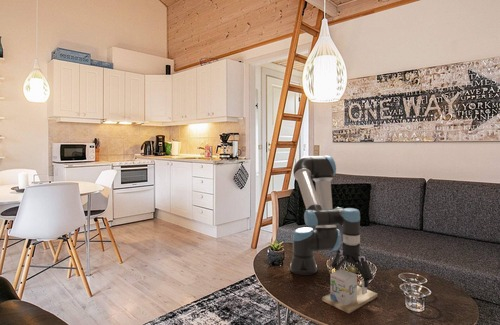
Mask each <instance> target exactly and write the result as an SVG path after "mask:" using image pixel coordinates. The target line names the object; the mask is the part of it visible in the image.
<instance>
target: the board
mask: <svg viewBox="0 0 500 325" xmlns="http://www.w3.org/2000/svg"><path fill="white" fill-rule="evenodd" d="M376 298H378V293H377V292H375V291H372V290H370V289H367V293H366V294H364V295H363V294H362V286H359V285H357V300H355V301H354V302H352V303H350V304H348V305H347V306H346V305H344V304H342V303H339V302H337V301H335V300H333V299H331V298H330V293H328V294H326V295H324V296H322V298H321V300H322V302H325V304H326V303H327V304H328V305H330V306H333V307H334V308H337V309H338V310H341V311H343V312H344V313H347V314H351V313H352V312H354V311H356V310H357V309H359V308H361V307H362V306H364V305H366V304H368V303H369V302H371V301H373V300H375V299H376Z"/></svg>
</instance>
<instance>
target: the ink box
mask: <svg viewBox="0 0 500 325" xmlns="http://www.w3.org/2000/svg"><path fill="white" fill-rule="evenodd" d="M339 269H340V270H338V271H335V270H334V271H333V272H332V273H330V283H329V284H330V289H329V290H330V291H329V292H330V293H329V294H330V298H331V299H333V300H335V301H337V302H339V303H342V304H344V305H346V306H347V305H348V304H350V303H352V302H354V301H355V300H357V286H358V274H357V273H354V272H351V271H349V270H346V269H343V268H339Z"/></svg>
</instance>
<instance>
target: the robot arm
mask: <svg viewBox="0 0 500 325" xmlns="http://www.w3.org/2000/svg"><path fill="white" fill-rule="evenodd" d="M292 171H293V172H292V173H293V176H294V180H296V181H297V184H298V187H299V190H300V194H301V197H302V200H303V204H304V206H305V211H304V213H303V219H304V223H305V225H306V227H305V226H303V227H299V228H296V229H295V230H293V231H292V258H291V261H290V265H289V271H290V272H292V273H294V274H295V275H299V276H311V275H314V274H316V273H317V271H318V266H317V264H316V259H315V256H314V255H315V254H314V253H315V252H327V251H329V252H332V251H336V255H335V257H334V259H333V261H332V263H331V268H334V272H335V271H338V270H340V269H341V267H342V266H343V265H344V264H345V263H347V264H349V263H350V264H351V265H354V267H356V269H357V271H358V272H359V274H360V276H361V277H362V279H361V287H362V294H363V295H364V294H366V293H367V290H368V287H369V284H370V282H369V281H372V280H373V279H374V277H373V275H372V272H371V269H370V266H369V263H368V262H367V257H366V256H365V255H363V256H362V255H360V252H361V251H360V250H361V244H360V243H361V212H360V210H359V209H357V208H354V207H346V208H344V207H339V206H337V207H335V208H333V197H332V180H333V179H334V177H333V176H335V175H336V173H337V164H336V161H335V159H334V158H333V157H332V156H331V155H306V156H302V157H301V158H299V159H298V160H297V161H296V163H295V164H294V166H293V170H292ZM313 182H315V185H314V183H313ZM337 225H339V226H341V227H342V234H341V230H340V229H338V228H337ZM307 226H308V227H307ZM313 227H315V229H314V228H313ZM341 243H342V248H340V247H341ZM339 248H340V249H339ZM342 256H343V258H342V259H341V257H342ZM340 259H341V260H340Z"/></svg>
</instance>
